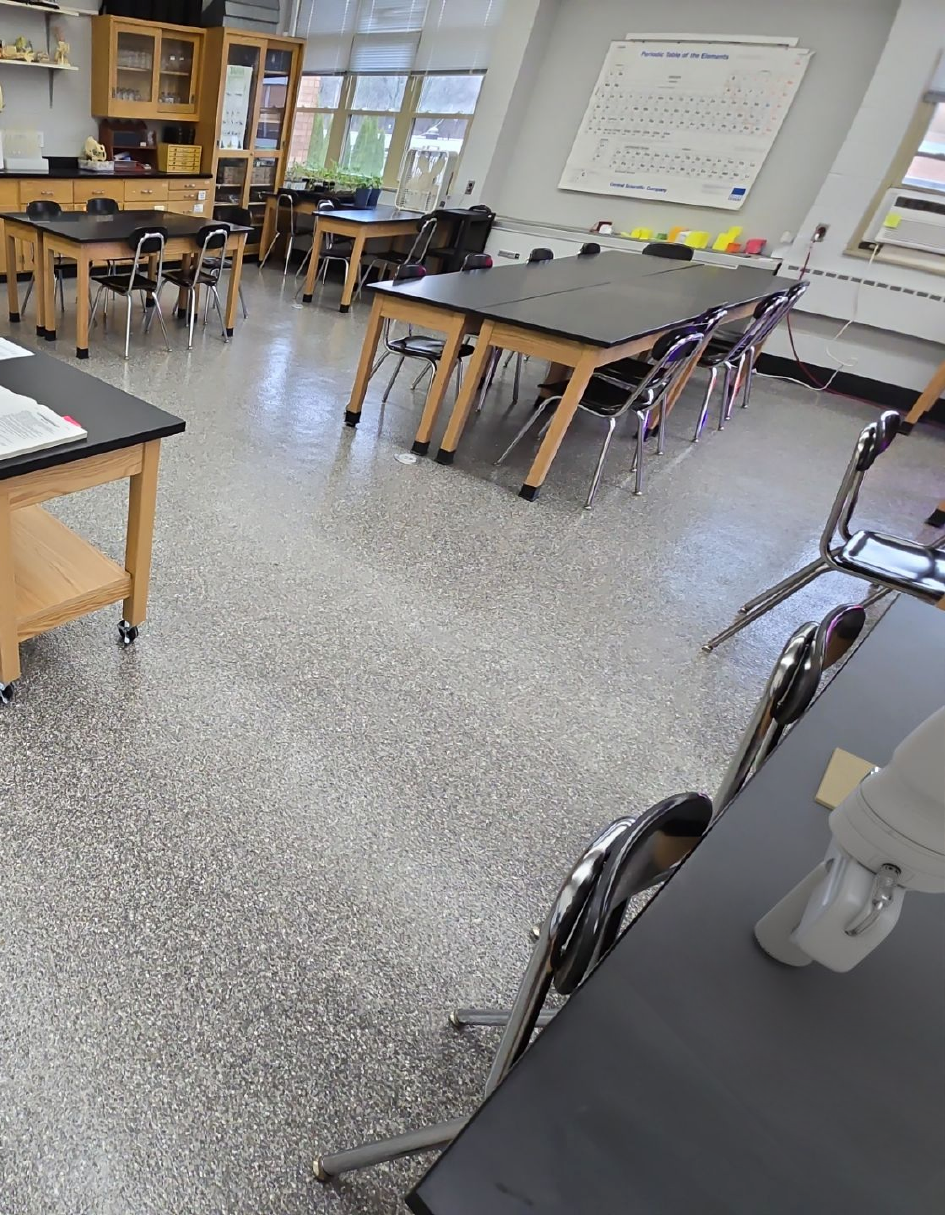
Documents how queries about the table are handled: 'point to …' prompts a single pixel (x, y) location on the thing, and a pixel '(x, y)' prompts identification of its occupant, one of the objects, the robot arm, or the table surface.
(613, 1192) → the table surface
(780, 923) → the beverage can
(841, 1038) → the table surface
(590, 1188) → the table surface
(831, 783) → the napkin
